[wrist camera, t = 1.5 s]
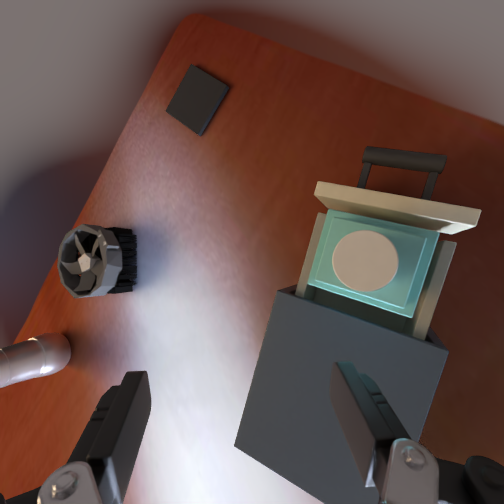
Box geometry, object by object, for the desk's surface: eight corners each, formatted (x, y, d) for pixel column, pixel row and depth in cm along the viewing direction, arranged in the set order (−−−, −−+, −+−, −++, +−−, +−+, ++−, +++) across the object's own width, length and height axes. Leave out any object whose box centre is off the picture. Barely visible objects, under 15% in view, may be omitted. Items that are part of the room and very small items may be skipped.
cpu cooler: (55, 297, 40) (55, 226, 41) (92, 293, 45) (92, 230, 46) (107, 300, 36) (106, 220, 36) (141, 294, 41) (140, 225, 42)
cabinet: (301, 282, 32) (276, 290, 24) (428, 324, 27) (449, 351, 19) (267, 401, 33) (233, 446, 25) (382, 462, 28) (384, 542, 20)
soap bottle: (350, 231, 28) (310, 189, 11) (408, 245, 26) (470, 219, 9) (338, 272, 28) (280, 292, 11) (395, 289, 26) (427, 345, 9)
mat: (193, 66, 38) (191, 63, 38) (229, 87, 36) (227, 85, 35) (168, 113, 40) (165, 111, 39) (200, 136, 38) (197, 134, 37)
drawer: (341, 158, 29) (331, 131, 23) (471, 176, 25) (502, 148, 19) (295, 317, 31) (274, 332, 25) (409, 362, 26) (420, 393, 20)
